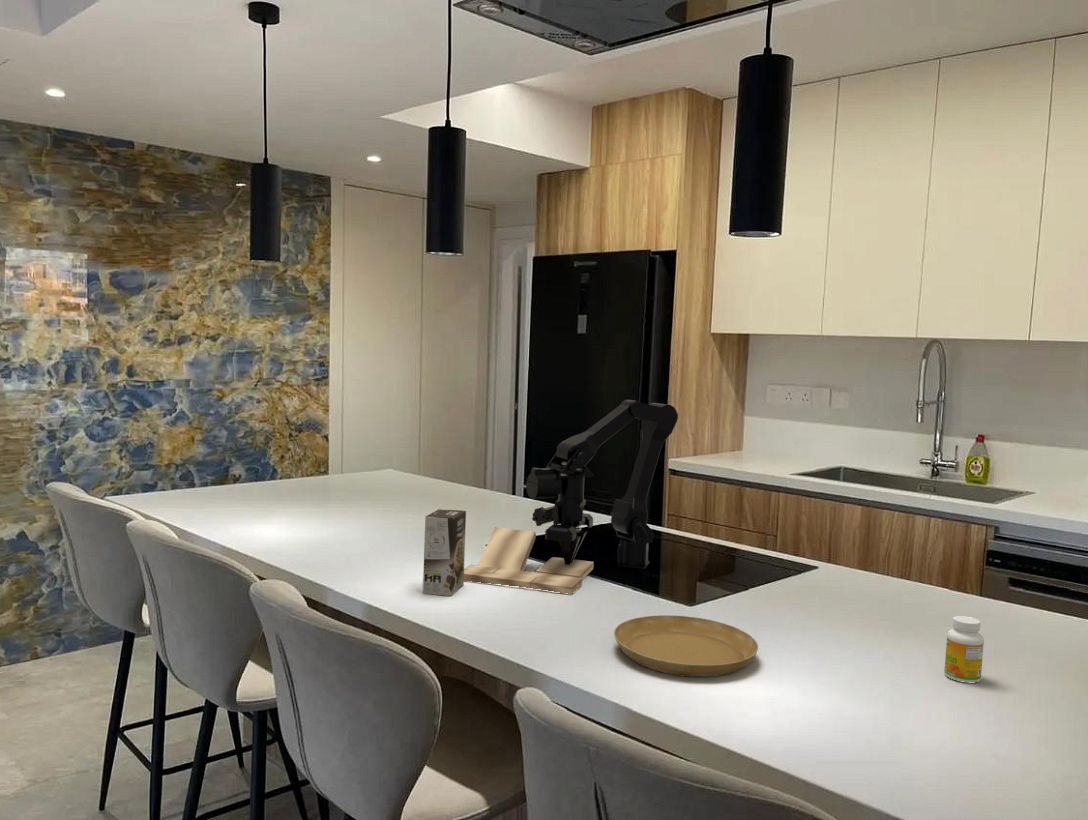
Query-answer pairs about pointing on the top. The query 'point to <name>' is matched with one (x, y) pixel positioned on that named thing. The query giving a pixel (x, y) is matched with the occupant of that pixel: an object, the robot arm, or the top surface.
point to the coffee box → (444, 552)
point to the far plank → (508, 549)
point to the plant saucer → (685, 645)
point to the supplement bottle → (964, 650)
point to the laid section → (522, 579)
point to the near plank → (566, 568)
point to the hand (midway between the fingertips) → (568, 563)
